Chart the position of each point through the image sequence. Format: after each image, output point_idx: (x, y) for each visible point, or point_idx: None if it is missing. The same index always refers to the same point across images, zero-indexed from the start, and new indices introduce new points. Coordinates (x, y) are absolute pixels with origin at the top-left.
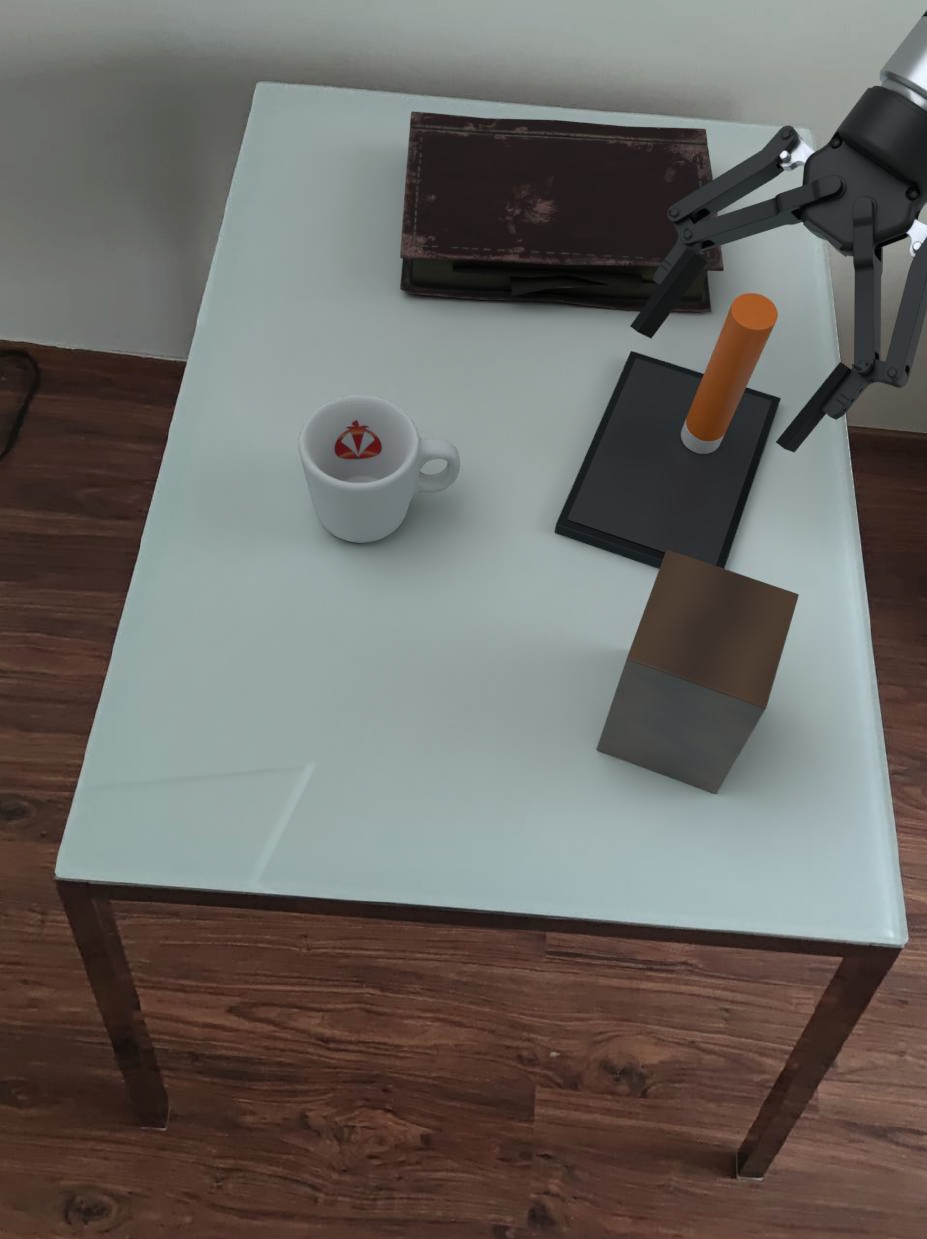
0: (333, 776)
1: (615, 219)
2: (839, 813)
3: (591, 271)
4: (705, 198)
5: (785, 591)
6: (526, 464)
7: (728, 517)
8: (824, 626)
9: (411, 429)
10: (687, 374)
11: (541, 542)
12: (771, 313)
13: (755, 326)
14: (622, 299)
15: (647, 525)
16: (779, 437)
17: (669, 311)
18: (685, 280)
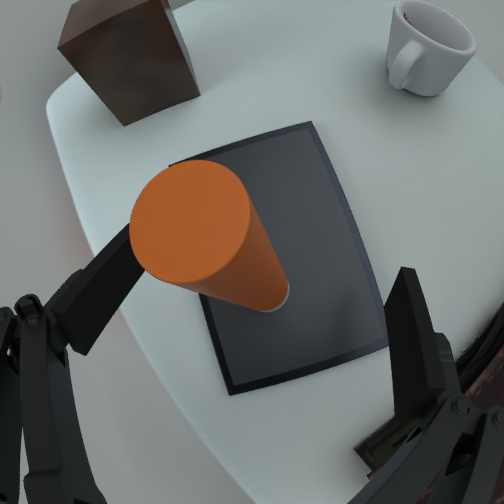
0: None
1: None
2: (67, 116)
3: (475, 377)
4: (480, 472)
5: (65, 41)
6: (376, 167)
7: None
8: (96, 202)
9: (429, 38)
10: (328, 358)
11: (311, 116)
12: (145, 241)
13: (162, 180)
14: None
15: (248, 165)
16: None
17: (390, 337)
18: (405, 367)
